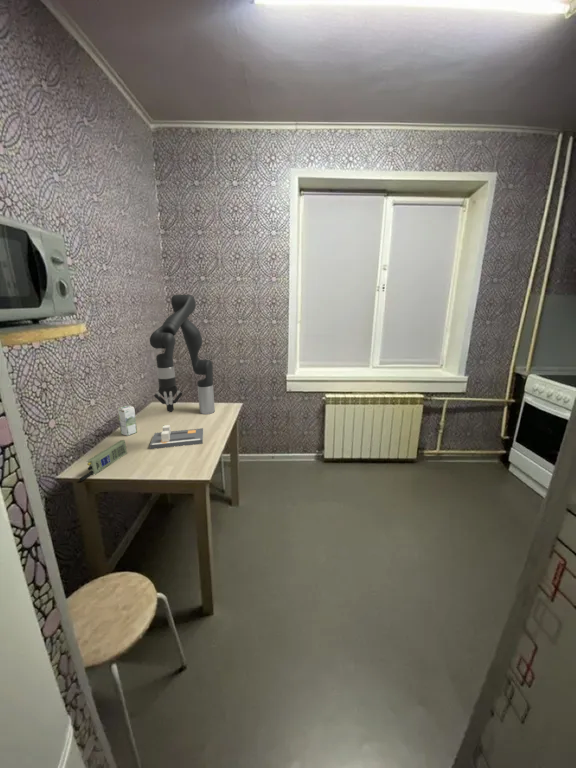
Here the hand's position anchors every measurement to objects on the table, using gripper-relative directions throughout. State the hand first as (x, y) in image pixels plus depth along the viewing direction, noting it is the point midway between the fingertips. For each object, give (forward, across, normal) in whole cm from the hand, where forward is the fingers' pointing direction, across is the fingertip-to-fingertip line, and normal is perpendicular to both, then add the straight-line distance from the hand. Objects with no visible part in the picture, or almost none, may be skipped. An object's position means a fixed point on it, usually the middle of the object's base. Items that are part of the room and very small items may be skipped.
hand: (170, 411), depth 150 cm
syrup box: (+17, +24, -19) cm, 35 cm away
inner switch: (+14, +4, -8) cm, 17 cm away
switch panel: (+16, -2, -4) cm, 17 cm away
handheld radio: (+17, +26, +16) cm, 35 cm away
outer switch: (+14, +4, 0) cm, 15 cm away
